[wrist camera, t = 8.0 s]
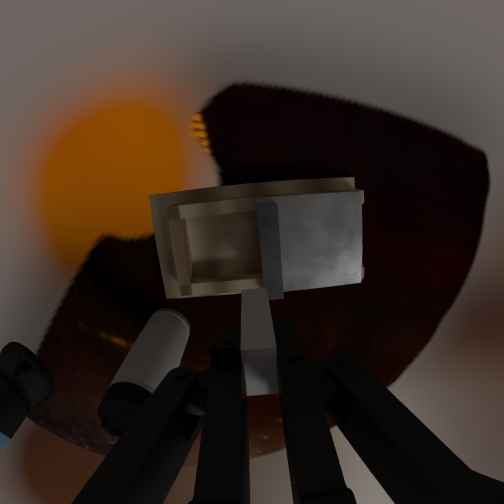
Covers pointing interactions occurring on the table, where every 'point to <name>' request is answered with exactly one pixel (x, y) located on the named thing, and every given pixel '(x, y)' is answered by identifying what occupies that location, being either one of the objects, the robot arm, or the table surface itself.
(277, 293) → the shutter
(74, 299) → the table surface
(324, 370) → the robot arm
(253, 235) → the holder
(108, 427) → the travel mug
